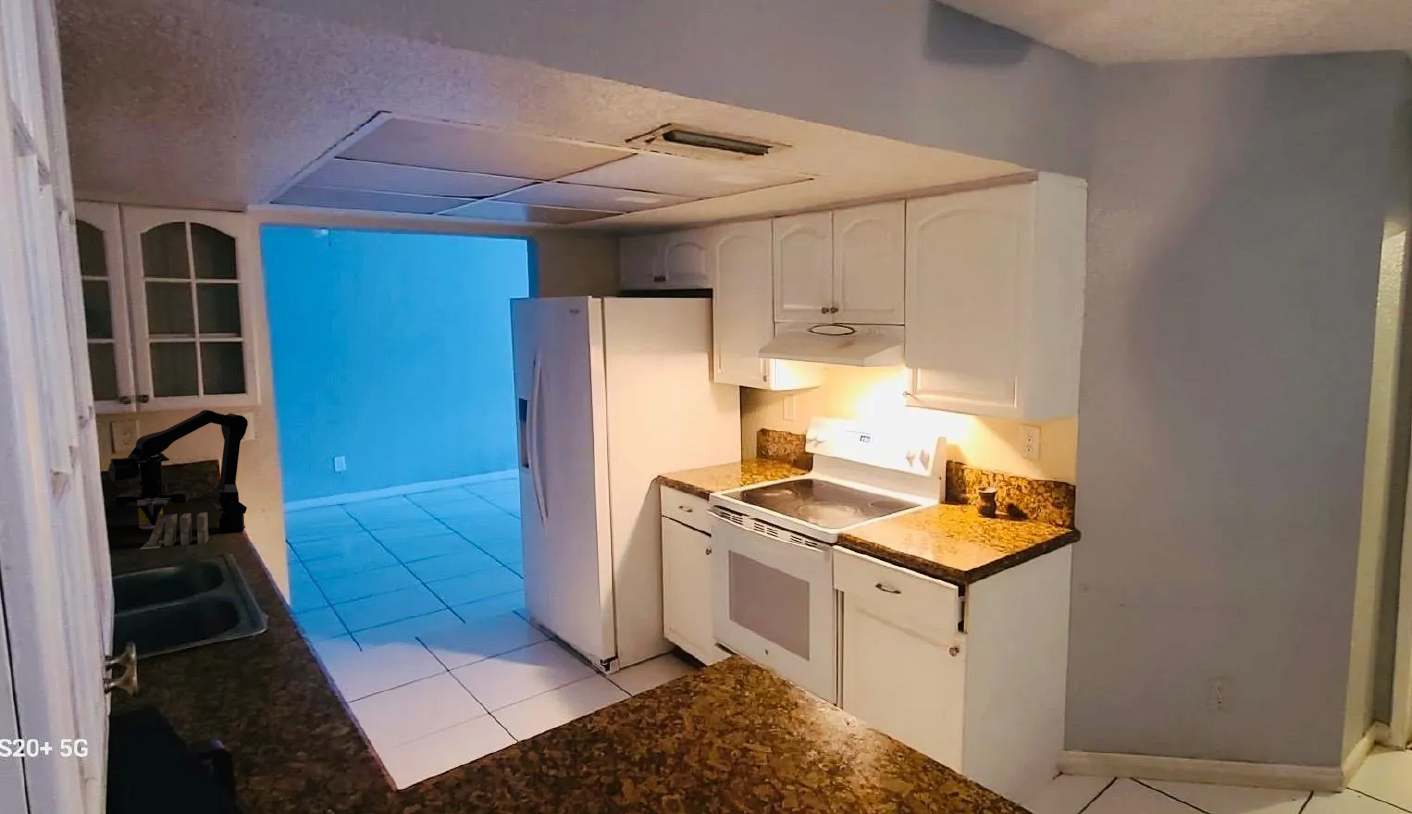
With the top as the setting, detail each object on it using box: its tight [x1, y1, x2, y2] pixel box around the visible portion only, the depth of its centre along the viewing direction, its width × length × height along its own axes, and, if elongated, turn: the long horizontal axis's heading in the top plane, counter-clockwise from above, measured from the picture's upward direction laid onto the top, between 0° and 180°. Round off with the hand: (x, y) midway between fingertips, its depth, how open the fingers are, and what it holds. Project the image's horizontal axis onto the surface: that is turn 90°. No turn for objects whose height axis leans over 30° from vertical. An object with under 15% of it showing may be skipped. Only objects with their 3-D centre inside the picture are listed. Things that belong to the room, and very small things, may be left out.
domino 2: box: [179, 512, 193, 546], centre depth 250 cm, size 2×5×9 cm, turn 22°
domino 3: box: [196, 512, 209, 545], centre depth 251 cm, size 2×5×9 cm, turn 22°
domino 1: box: [163, 513, 178, 547], centre depth 248 cm, size 2×5×9 cm, turn 23°
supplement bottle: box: [137, 498, 163, 530], centre depth 266 cm, size 7×7×13 cm
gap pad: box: [139, 540, 165, 550], centre depth 247 cm, size 5×8×1 cm, turn 22°
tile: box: [147, 513, 169, 547], centre depth 247 cm, size 2×5×9 cm, turn 23°
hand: (154, 525), depth 246 cm, fingers closed
